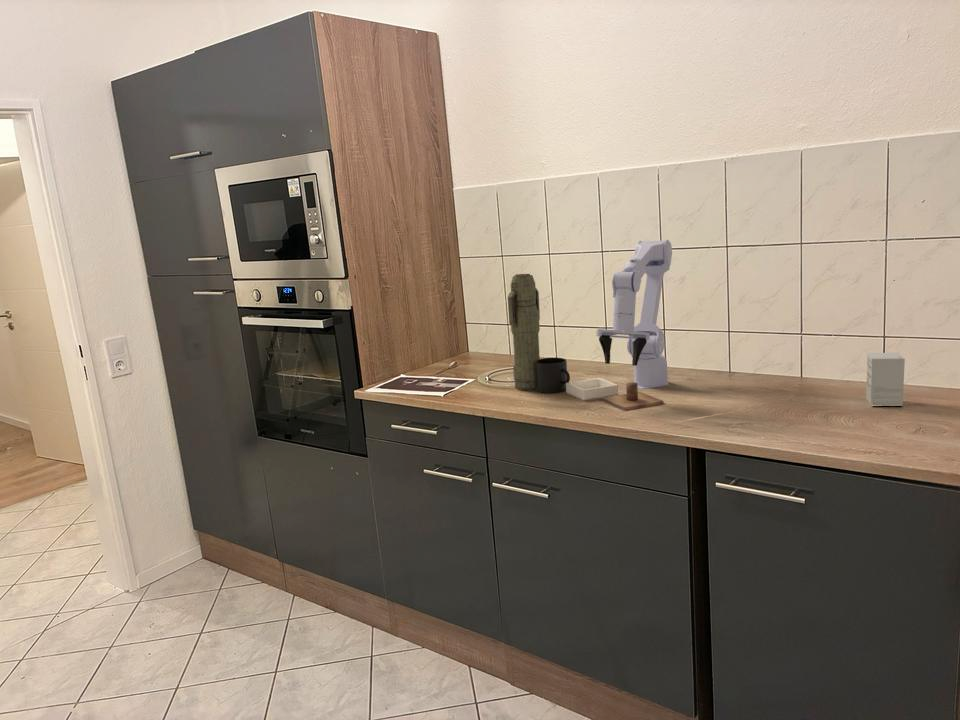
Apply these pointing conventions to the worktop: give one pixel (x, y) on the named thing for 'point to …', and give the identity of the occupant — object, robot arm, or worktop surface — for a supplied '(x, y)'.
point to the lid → (632, 398)
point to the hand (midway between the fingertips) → (621, 364)
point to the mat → (630, 409)
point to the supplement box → (885, 379)
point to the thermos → (524, 329)
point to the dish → (591, 389)
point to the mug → (551, 375)
